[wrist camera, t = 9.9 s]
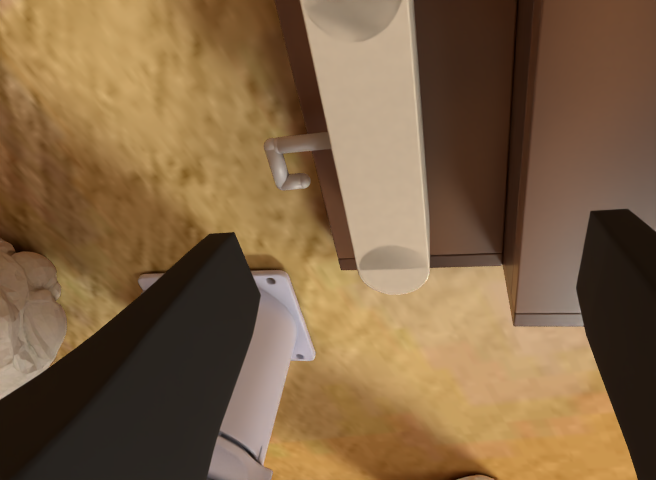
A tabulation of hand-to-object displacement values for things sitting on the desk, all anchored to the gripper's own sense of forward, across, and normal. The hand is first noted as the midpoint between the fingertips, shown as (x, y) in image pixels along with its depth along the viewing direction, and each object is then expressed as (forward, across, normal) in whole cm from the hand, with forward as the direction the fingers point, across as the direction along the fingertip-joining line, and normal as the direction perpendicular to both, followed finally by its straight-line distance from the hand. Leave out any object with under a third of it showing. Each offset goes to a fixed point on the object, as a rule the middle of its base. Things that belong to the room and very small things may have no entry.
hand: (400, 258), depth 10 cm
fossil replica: (+11, +26, +10) cm, 29 cm away
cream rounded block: (+9, +3, +1) cm, 9 cm away
